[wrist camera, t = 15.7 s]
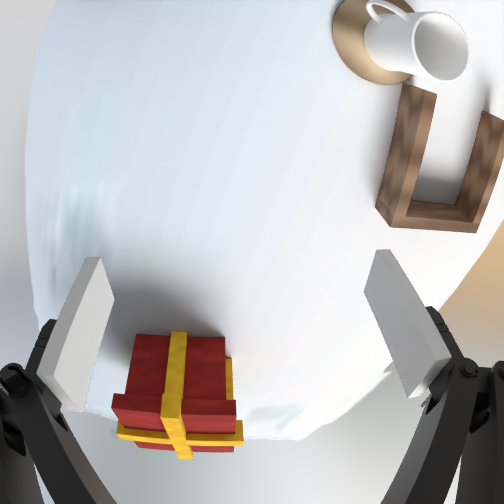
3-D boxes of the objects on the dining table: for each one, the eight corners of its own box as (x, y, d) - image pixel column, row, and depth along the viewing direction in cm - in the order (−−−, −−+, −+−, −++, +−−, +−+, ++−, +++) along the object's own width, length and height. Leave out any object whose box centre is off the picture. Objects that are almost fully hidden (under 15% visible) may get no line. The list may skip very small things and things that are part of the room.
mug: (332, 22, 31) (370, 15, 21) (371, -15, 27) (418, -29, 18) (393, 82, 36) (442, 100, 26) (427, 46, 32) (482, 56, 22)
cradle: (403, 83, 36) (425, 90, 31) (489, 113, 38) (512, 124, 33) (375, 207, 48) (390, 227, 44) (458, 215, 50) (475, 233, 45)
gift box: (141, 384, 75) (133, 454, 59) (119, 323, 60) (98, 410, 44) (236, 388, 77) (240, 459, 61) (240, 327, 63) (246, 419, 46)
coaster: (336, -21, 28) (338, -22, 27) (427, 8, 29) (430, 8, 28) (326, 73, 36) (328, 74, 35) (416, 93, 37) (418, 94, 37)
